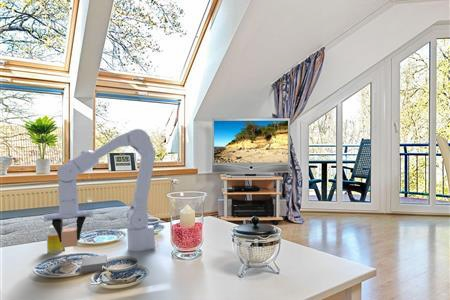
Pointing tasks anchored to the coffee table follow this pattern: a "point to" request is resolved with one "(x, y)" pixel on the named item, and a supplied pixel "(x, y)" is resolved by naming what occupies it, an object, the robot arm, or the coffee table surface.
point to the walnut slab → (88, 272)
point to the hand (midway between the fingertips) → (70, 240)
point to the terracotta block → (69, 237)
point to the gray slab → (93, 263)
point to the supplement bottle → (53, 241)
